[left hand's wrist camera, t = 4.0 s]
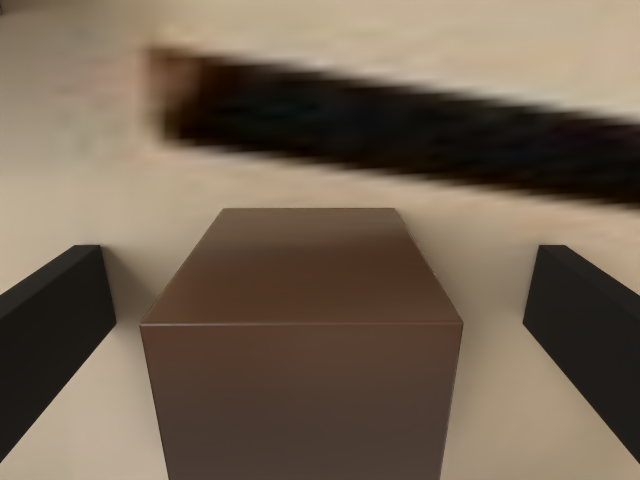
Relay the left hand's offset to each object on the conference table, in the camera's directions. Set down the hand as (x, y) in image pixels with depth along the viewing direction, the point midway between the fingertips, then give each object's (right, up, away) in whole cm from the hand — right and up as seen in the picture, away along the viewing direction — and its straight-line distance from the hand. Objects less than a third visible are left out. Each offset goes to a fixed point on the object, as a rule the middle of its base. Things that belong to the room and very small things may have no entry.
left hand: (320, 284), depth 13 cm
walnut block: (0, 0, 0) cm, 0 cm away
